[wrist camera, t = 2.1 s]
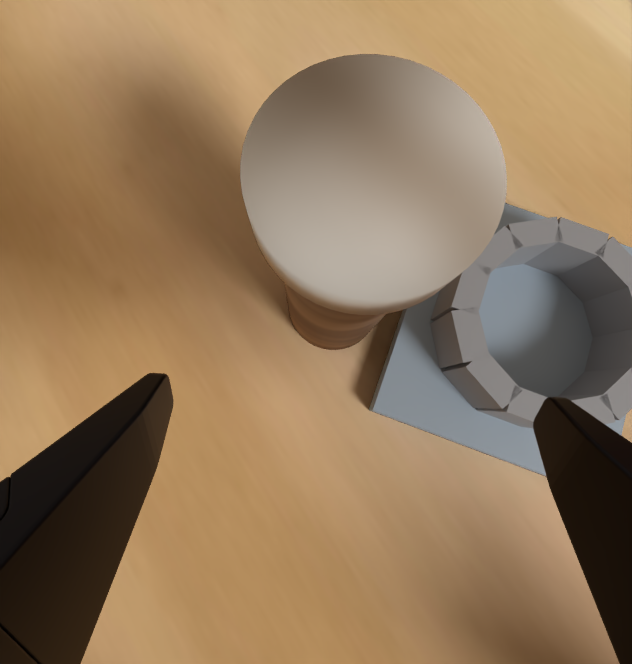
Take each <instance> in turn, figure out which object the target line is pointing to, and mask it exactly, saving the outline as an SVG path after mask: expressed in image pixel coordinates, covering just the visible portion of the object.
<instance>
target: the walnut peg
mask: <svg viewBox="0 0 632 664" xmlns="http://www.w3.org/2000/svg"><path fill="white" fill-rule="evenodd" d="M240 180H241V188H242V195H243V199H244V202H245V206H246V210H247V213H248V216H249V220H250V223H251V226H252V230H253V233H254V236H255V239H256V242H257V244H258V246H259V249H260V251H261V253H262V254H263V256H264V258H265V259H266V261H267V263H268V264H269V266H270V267H271V268H272V269H273V271H274V272H275V273H276V274H277V276H278V277H279V278H280V279H281V280H283V281H284V283H285V289H286V295H287V301H288V308H289V314H290V318H291V321H292V323H293V326H294V327H295V329H296V331H297V332H298V333H299V334H300V335H301V336H302V337H303V338H304V339H305V340H306V341H308V342H309V343H311V344H312V345H314V346H317V347H319V348H323V349H329V350H338V349H344V348H347V347H350V346H352V345H354V344H356V343H358V342H359V341H361V340H362V339H363V338H364V337H365V336H366V335H367V334H368V333H369V332H370V331H371V330H372V329H373V328H374V327H375V325H376V324H377V323H378V322H379V321H380V320H381V319H382V318H383V317H384V316H385V315H386V314H387V313H393V312H397V311H400V310H404V309H407V308H410V307H412V306H414V305H417V304H419V303H421V302H423V301H425V300H426V299H428V298H430V297H431V296H433V295H435V294H436V293H437V292H438V291H440V290H441V289H442V288H443V287H445V286H446V285H447V284H448V283H450V282H451V281H452V280H453V279H455V278H456V277H457V276H458V275H459V274H461V273H462V272H463V271H464V270H466V269H467V268H468V267H469V266H470V265H471V264H472V263H473V262H474V261H475V260H476V259H477V258H478V257H479V256H480V255H481V254H482V252H483V251H484V249H485V248H486V246H487V245H488V244H489V242H490V241H491V239H492V237H493V235H494V233H495V231H496V229H497V227H498V225H499V222H500V219H501V216H502V213H503V210H504V204H505V199H506V189H507V175H506V165H505V160H504V156H503V152H502V147H501V145H500V142H499V140H498V137H497V135H496V132H495V130H494V128H493V127H492V125H491V123H490V121H489V119H488V118H487V116H486V115H485V114H484V112H483V111H482V110H481V108H480V107H479V105H478V104H477V103H476V102H475V101H474V100H473V99H472V98H471V97H470V96H469V95H468V94H467V93H466V92H465V91H464V90H463V89H462V88H460V87H459V86H458V85H457V84H456V83H454V82H453V81H451V80H450V79H448V78H447V77H445V76H444V75H442V74H441V73H439V72H437V71H435V70H433V69H431V68H429V67H427V66H424V65H422V64H419V63H416V62H413V61H411V60H407V59H403V58H399V57H395V56H387V55H379V54H358V55H348V56H342V57H337V58H333V59H329V60H326V61H323V62H320V63H317V64H314V65H312V66H310V67H308V68H306V69H304V70H302V71H300V72H298V73H297V74H295V75H294V76H292V77H291V78H289V79H288V80H286V81H285V82H284V83H283V84H282V85H281V86H279V87H278V88H277V89H276V90H275V91H274V92H273V93H272V94H271V95H270V96H269V97H268V99H267V100H266V101H265V102H264V103H263V105H262V106H261V108H260V109H259V111H258V112H257V114H256V115H255V117H254V119H253V121H252V123H251V125H250V127H249V129H248V132H247V135H246V138H245V141H244V145H243V149H242V156H241V162H240Z"/></svg>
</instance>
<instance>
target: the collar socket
mask: <svg viewBox="0 0 632 664" xmlns="http://www.w3.org/2000/svg"><path fill="white" fill-rule="evenodd" d="M608 236H609V234H607V233H604V232H601V231H599V230H596V229H593V228H590V227H587V226H584V225H582V224H579V223H576V222H573V221H570V220H567V219H565V218H562V217H561V218H559V219H558V220H557V217H552V218H546V217H543V216H541V215H538V214H535V213H532V212H529V211H526V210H524V209H521V208H518V207H515V206H512V205H509V204H507V203H505V204H504V210H503V213H502V216H501V219H500V222H499V225H498V227H497V229H496V231H495V233H494V235H493V237H492V239H491V241H490V242H489V244H488V245H487V246H486V248H485V249H484V251H483V252H482V254H481V255H480V256H479V257H478V258H477V259H476V260H475V261H474V262H473V263H472V264H471V265H470V266H469V267H468V268H467V269H466V270H464V271H463V272H462V273H461V274H459V275H458V276H457V277H456V278H455V279H453V280H452V281H451V282H450V283H448V284H447V285H446V286H445V287H443V288H442V289H441V290H440V291H438V292H437V293H436V294H435V295H433V296H431V297H430V298H428V299H426V300H425V301H423V302H421V303H419V304H417V305H414V306H412V307H410V308H407V309H404V310H403V311H402V314H401V317H400V320H399V322H398V325H397V328H396V331H395V334H394V337H393V340H392V343H391V346H390V349H389V352H388V355H387V358H386V361H385V364H384V367H383V370H382V373H381V375H380V378H379V381H378V384H377V387H376V390H375V393H374V396H373V399H372V402H371V405H370V408H369V410H370V411H372V412H375V413H378V414H380V415H383V416H386V417H389V418H391V419H394V420H397V421H399V422H402V423H405V424H407V425H410V426H413V427H415V428H418V429H421V430H423V431H426V432H429V433H431V434H434V435H437V436H439V437H442V438H445V439H447V440H450V441H453V442H455V443H458V444H461V445H463V446H466V447H469V448H471V449H474V450H477V451H479V452H482V453H485V454H487V455H490V456H493V457H495V458H498V459H501V460H503V461H506V462H509V463H511V464H514V465H517V466H519V467H522V468H525V469H527V470H530V471H533V472H535V473H538V474H541V475H543V476H546V473H545V469H544V466H543V462H542V459H541V455H540V451H539V448H538V444H537V441H536V437H535V434H534V430H533V422H534V418H535V417H536V415H537V413H538V411H539V409H540V408H541V406H542V404H543V402H544V400H545V399H546V398H548V397H564V398H567V399H569V400H571V401H572V402H574V403H575V404H576V405H578V406H579V407H581V408H582V409H584V410H585V411H587V412H588V413H589V414H591V415H592V416H594V417H595V418H597V419H598V420H599V421H601V422H602V423H604V424H605V425H607V426H608V427H610V428H611V429H612V430H614V431H615V432H617V433H618V434H620V435H621V434H622V430H623V425H624V421H625V416H626V414H627V413H628V412H629V411H630V410H631V409H632V248H631V247H628V246H625V245H622V244H620V243H619V242H618V241H617V240H616V239H615V238H614V237H611V238H609V239H608Z"/></svg>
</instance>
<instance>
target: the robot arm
mask: <svg viewBox="0 0 632 664" xmlns="http://www.w3.org/2000/svg"><path fill="white" fill-rule="evenodd" d="M172 409H173V395H172V390H171V385H170V380H169V377H168V375H166V374H162V373H149V374H147V375H146V376H144V377H143V378H141V379H140V380H139V381H137V382H136V383H135V384H133V385H132V386H131V387H129V388H128V389H126V390H125V391H124V392H122V393H121V394H120V395H118V396H117V397H116V398H114V399H113V400H111V401H110V402H109V403H107V404H106V405H105V406H103V407H102V408H101V409H99V410H98V411H96V412H95V413H94V414H92V415H91V416H90V417H88V418H87V419H86V420H84V421H83V422H81V423H80V424H79V425H77V426H76V427H75V428H73V429H72V430H71V431H69V432H68V433H66V434H65V435H64V436H62V437H61V438H60V439H58V440H57V441H56V442H54V443H53V444H52V445H50V446H49V447H47V448H46V449H45V450H43V451H42V452H41V453H39V454H38V455H37V456H35V457H34V458H32V459H31V460H30V461H28V462H27V463H26V464H24V465H23V466H22V467H20V468H19V469H17V470H16V471H15V472H13V473H12V474H11V476H10V477H6V478H5V479H4V480H2V481H1V482H0V664H81V661H82V659H83V656H84V654H85V651H86V648H87V646H88V643H89V641H90V638H91V636H92V633H93V631H94V628H95V625H96V623H97V620H98V618H99V615H100V613H101V610H102V607H103V605H104V602H105V600H106V597H107V595H108V592H109V590H110V587H111V584H112V582H113V579H114V577H115V574H116V572H117V569H118V567H119V564H120V561H121V559H122V556H123V554H124V551H125V549H126V546H127V543H128V541H129V538H130V536H131V533H132V531H133V528H134V526H135V523H136V520H137V518H138V515H139V513H140V510H141V508H142V505H143V503H144V500H145V497H146V495H147V492H148V490H149V487H150V485H151V482H152V480H153V477H154V474H155V471H156V469H157V466H158V462H159V459H160V455H161V451H162V447H163V443H164V440H165V436H166V432H167V428H168V424H169V420H170V417H171V413H172ZM533 430H534V434H535V437H536V441H537V444H538V448H539V451H540V455H541V459H542V462H543V466H544V469H545V473H546V477H547V480H548V483H549V486H550V489H551V492H552V495H553V497H554V500H555V503H556V505H557V508H558V510H559V513H560V515H561V518H562V520H563V523H564V525H565V528H566V530H567V533H568V535H569V538H570V540H571V543H572V545H573V548H574V550H575V553H576V555H577V558H578V560H579V563H580V565H581V568H582V570H583V573H584V575H585V578H586V580H587V583H588V585H589V588H590V590H591V593H592V595H593V598H594V600H595V603H596V606H597V608H598V611H599V613H600V616H601V618H602V621H603V623H604V626H605V628H606V631H607V633H608V636H609V638H610V641H611V643H612V646H613V648H614V651H615V653H616V656H617V658H618V661H619V663H620V664H632V443H631V442H630V441H628V440H627V439H625V438H624V437H623V436H621V435H620V434H618V433H617V432H615V431H614V430H612V429H611V428H610V427H608V426H607V425H605V424H604V423H602V422H601V421H599V420H598V419H597V418H595V417H594V416H592V415H591V414H589V413H588V412H587V411H585V410H584V409H582V408H581V407H579V406H578V405H576V404H575V403H574V402H572V401H571V400H569V399H567V398H564V397H548V398H546V399H545V400H544V402H543V404H542V406H541V408H540V409H539V411H538V413H537V415H536V417H535V418H534V422H533Z"/></svg>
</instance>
